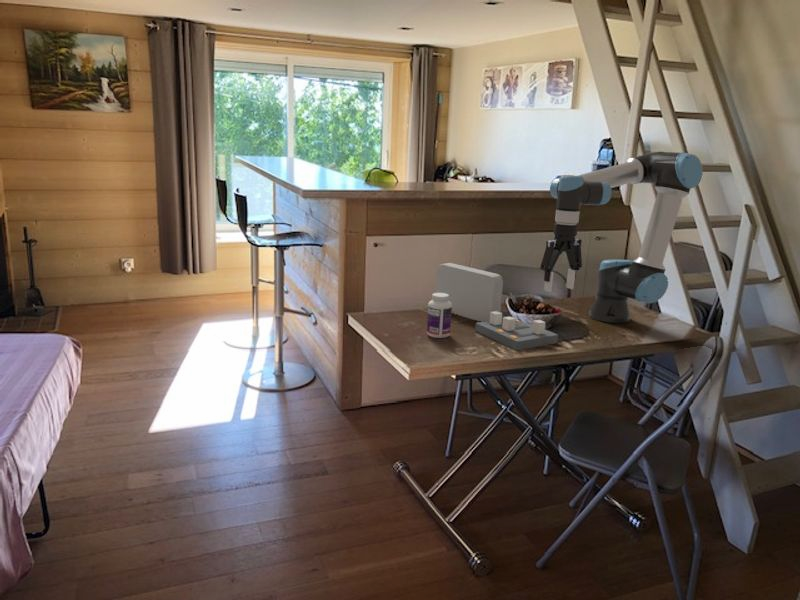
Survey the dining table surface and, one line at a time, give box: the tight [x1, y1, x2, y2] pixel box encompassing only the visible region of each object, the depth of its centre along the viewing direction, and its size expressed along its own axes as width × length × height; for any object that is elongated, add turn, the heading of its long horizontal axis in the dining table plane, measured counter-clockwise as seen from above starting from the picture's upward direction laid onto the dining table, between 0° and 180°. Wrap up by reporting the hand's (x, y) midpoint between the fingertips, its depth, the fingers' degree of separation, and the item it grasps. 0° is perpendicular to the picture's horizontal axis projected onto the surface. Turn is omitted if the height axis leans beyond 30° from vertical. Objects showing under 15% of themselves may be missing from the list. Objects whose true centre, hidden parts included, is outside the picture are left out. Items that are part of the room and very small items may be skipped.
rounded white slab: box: [434, 262, 504, 322], centre depth 239 cm, size 29×8×18 cm, turn 44°
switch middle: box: [502, 316, 516, 331], centre depth 214 cm, size 3×3×4 cm
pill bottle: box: [426, 292, 452, 339], centre depth 213 cm, size 8×8×14 cm
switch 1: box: [489, 311, 503, 325], centre depth 219 cm, size 3×3×4 cm
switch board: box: [474, 318, 559, 351], centre depth 216 cm, size 18×22×3 cm
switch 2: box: [531, 319, 546, 335], centre depth 211 cm, size 3×3×4 cm
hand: (558, 289), depth 212 cm, fingers open, 9 cm apart
